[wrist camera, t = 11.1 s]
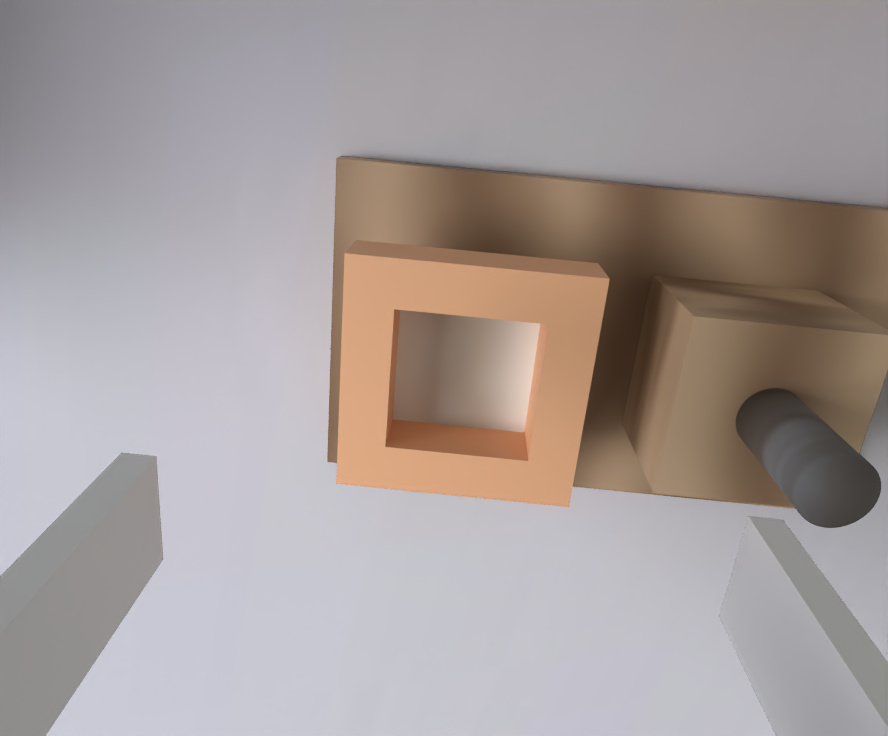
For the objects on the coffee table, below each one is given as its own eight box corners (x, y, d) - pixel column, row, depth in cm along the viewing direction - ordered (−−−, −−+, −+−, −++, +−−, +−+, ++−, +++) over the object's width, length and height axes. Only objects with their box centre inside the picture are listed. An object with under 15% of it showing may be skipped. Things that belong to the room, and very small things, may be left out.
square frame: (347, 454, 29) (336, 483, 27) (356, 239, 26) (344, 253, 23) (561, 475, 29) (568, 506, 27) (597, 263, 26) (609, 279, 23)
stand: (332, 450, 34) (260, 624, 23) (342, 156, 29) (255, 191, 18) (817, 498, 34) (988, 698, 23) (913, 210, 29) (1195, 281, 18)
